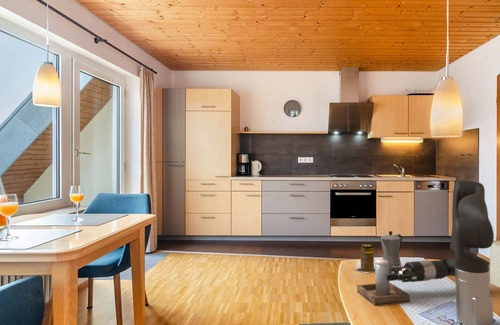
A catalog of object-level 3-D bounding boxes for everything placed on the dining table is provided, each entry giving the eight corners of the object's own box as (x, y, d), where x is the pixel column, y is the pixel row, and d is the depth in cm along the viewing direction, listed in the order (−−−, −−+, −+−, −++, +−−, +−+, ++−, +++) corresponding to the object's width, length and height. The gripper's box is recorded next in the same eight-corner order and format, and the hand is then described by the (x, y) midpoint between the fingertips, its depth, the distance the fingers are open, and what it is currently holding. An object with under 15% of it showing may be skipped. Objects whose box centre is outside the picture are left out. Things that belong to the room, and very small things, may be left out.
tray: (410, 302, 133) (409, 294, 133) (374, 305, 131) (374, 297, 131) (389, 289, 147) (389, 282, 147) (357, 292, 145) (357, 285, 145)
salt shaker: (392, 296, 137) (391, 261, 137) (380, 297, 136) (379, 262, 136) (385, 291, 142) (384, 258, 142) (373, 292, 141) (372, 259, 141)
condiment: (378, 270, 173) (377, 245, 173) (366, 273, 168) (365, 248, 168) (365, 267, 179) (364, 242, 179) (354, 270, 174) (353, 245, 174)
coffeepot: (392, 273, 167) (390, 234, 167) (374, 268, 175) (373, 231, 175) (411, 267, 176) (409, 230, 176) (393, 263, 184) (392, 227, 184)
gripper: (408, 257, 149) (372, 259, 146) (431, 266, 135) (391, 269, 132) (409, 275, 149) (372, 278, 146) (432, 286, 135) (392, 290, 132)
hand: (381, 274), depth 139 cm, fingers open, 8 cm apart
